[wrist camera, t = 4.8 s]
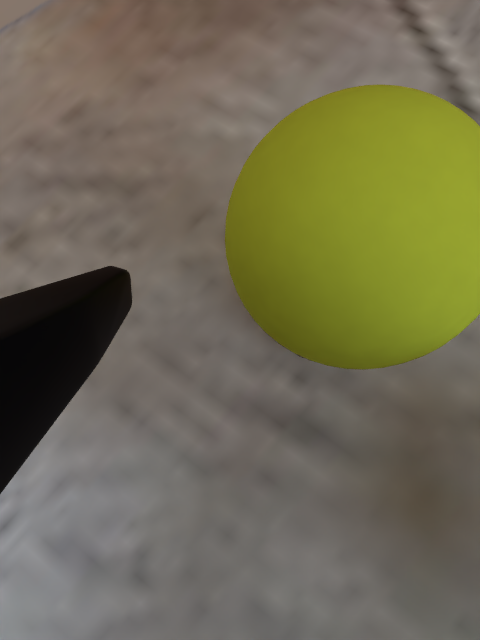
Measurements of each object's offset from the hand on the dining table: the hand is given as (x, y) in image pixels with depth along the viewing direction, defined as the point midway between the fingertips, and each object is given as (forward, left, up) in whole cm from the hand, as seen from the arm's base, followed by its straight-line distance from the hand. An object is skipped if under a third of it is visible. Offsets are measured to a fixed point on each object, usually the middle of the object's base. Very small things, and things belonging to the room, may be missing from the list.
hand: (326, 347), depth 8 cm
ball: (+1, +3, -1) cm, 3 cm away
